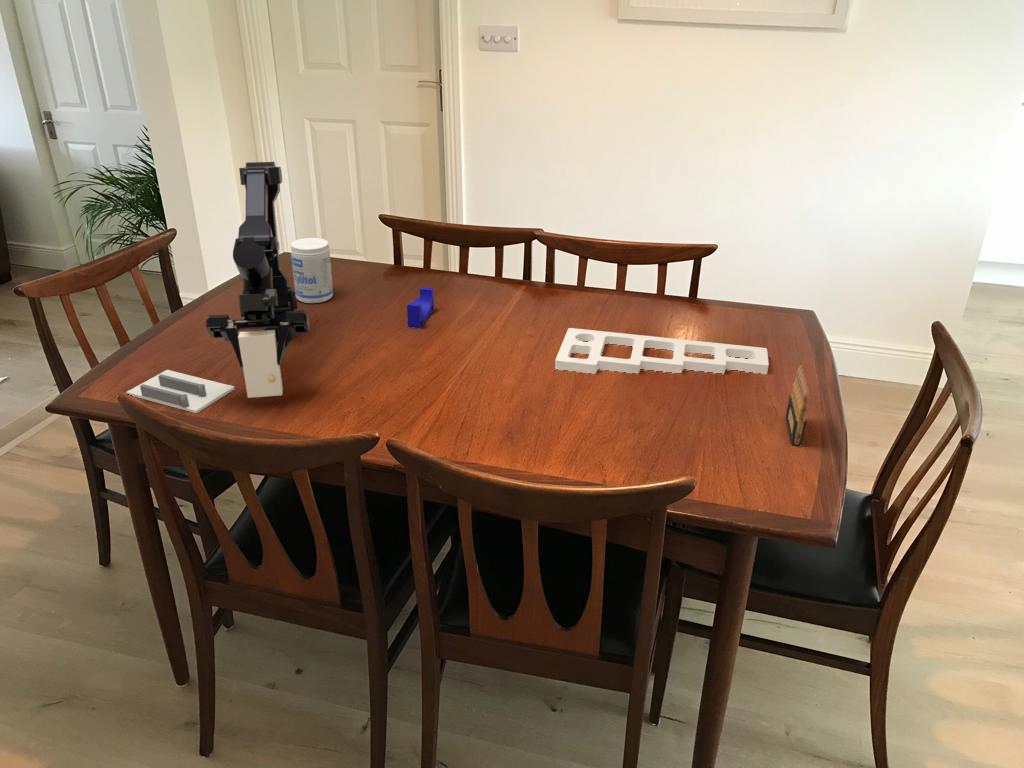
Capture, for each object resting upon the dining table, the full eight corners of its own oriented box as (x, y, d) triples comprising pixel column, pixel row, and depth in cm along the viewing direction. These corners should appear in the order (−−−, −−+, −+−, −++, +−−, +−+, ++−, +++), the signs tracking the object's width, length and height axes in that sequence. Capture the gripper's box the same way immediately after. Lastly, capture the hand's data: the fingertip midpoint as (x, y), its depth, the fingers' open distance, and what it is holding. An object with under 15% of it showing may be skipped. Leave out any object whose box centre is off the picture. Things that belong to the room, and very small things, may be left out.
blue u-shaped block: (416, 308, 206) (415, 286, 203) (434, 310, 205) (433, 288, 203) (402, 327, 196) (400, 304, 193) (420, 329, 195) (419, 306, 192)
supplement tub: (291, 304, 208) (284, 248, 201) (301, 290, 216) (294, 236, 209) (329, 304, 207) (323, 249, 200) (337, 291, 216) (332, 237, 209)
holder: (764, 358, 184) (766, 348, 182) (768, 395, 168) (771, 384, 167) (568, 338, 192) (568, 327, 191) (554, 371, 177) (555, 360, 176)
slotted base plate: (167, 372, 173) (165, 360, 172) (234, 389, 167) (232, 376, 166) (126, 394, 164) (123, 382, 163) (196, 413, 158) (193, 400, 157)
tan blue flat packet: (785, 417, 160) (795, 362, 154) (795, 418, 159) (806, 363, 154) (791, 445, 150) (802, 388, 145) (801, 446, 150) (813, 389, 144)
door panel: (249, 391, 161) (239, 332, 155) (282, 389, 162) (274, 329, 156) (247, 400, 158) (237, 340, 152) (281, 398, 159) (273, 337, 153)
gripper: (198, 276, 151) (199, 355, 147) (301, 271, 154) (305, 348, 150) (211, 299, 162) (212, 374, 157) (308, 294, 165) (311, 367, 161)
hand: (260, 365), depth 156 cm, fingers closed on door panel, 6 cm apart
